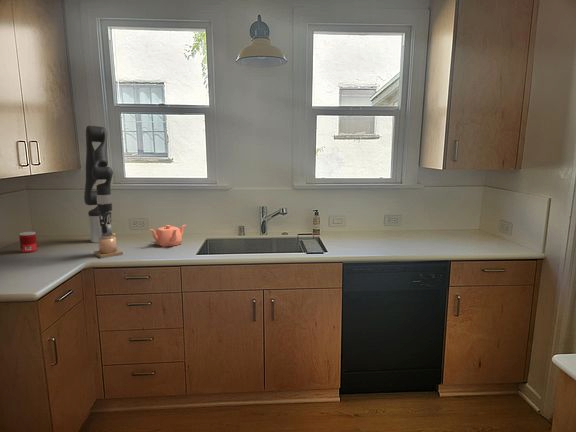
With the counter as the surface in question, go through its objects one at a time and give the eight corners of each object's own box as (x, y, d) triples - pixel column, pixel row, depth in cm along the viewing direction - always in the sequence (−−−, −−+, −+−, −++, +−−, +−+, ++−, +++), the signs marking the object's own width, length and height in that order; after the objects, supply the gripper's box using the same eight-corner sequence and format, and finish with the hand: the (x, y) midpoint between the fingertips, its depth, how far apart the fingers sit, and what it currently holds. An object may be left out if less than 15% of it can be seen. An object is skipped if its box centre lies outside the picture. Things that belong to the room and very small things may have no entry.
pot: (176, 248, 231) (175, 228, 229) (149, 247, 233) (148, 227, 231) (187, 241, 249) (186, 223, 247) (161, 240, 251) (161, 222, 249)
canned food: (40, 250, 223) (38, 232, 221) (27, 253, 215) (25, 235, 214) (31, 249, 225) (29, 231, 223) (18, 252, 218) (15, 233, 216)
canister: (93, 253, 217) (92, 233, 215) (115, 250, 225) (113, 230, 223) (100, 258, 209) (99, 237, 206) (122, 254, 217) (121, 234, 215)
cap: (99, 236, 212) (99, 225, 211) (104, 234, 217) (103, 223, 216) (113, 236, 212) (112, 225, 211) (117, 234, 218) (116, 223, 217)
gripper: (101, 200, 218) (103, 229, 221) (92, 204, 204) (95, 234, 207) (115, 200, 219) (117, 229, 222) (107, 204, 205) (109, 234, 208)
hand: (106, 231), depth 214 cm, fingers closed on cap, 5 cm apart
